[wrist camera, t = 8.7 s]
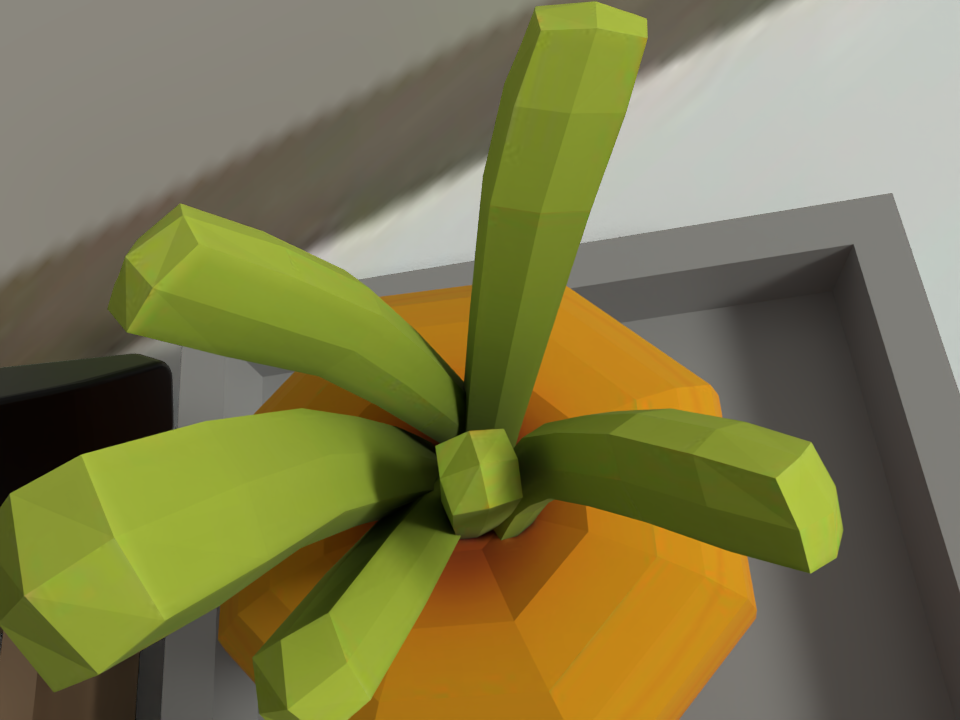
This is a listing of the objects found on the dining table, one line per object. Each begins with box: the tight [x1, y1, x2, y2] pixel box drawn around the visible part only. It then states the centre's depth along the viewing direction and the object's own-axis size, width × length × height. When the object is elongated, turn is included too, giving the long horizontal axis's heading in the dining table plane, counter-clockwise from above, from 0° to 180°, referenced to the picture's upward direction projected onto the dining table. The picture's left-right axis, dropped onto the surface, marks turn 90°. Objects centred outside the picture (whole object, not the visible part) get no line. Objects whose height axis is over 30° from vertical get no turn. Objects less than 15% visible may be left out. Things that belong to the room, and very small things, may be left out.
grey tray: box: [161, 193, 960, 720], centre depth 17 cm, size 15×15×3 cm
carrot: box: [0, 1, 843, 720], centre depth 10 cm, size 5×5×15 cm
